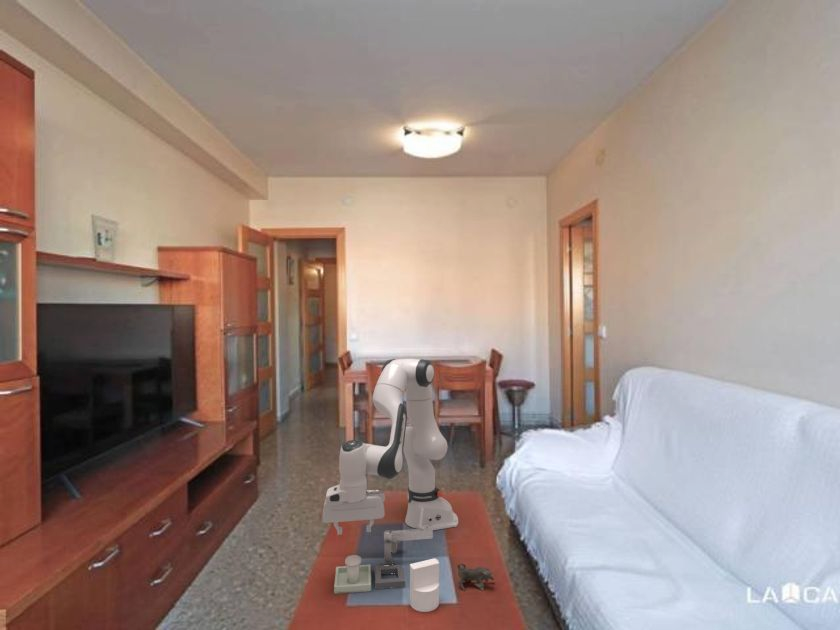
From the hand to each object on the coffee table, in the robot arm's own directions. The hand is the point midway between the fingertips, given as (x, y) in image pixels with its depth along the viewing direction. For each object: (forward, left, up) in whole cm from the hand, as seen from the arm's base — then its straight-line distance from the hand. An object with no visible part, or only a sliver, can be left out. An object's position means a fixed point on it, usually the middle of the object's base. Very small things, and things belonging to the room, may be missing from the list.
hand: (354, 532), depth 151 cm
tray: (0, 0, -16) cm, 16 cm away
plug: (0, 0, -16) cm, 16 cm away
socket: (-12, -3, -16) cm, 20 cm away
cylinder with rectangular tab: (-22, +13, -17) cm, 30 cm away
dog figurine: (-39, +7, -17) cm, 43 cm away
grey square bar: (-19, -10, -8) cm, 23 cm away
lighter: (-15, -17, -17) cm, 28 cm away
